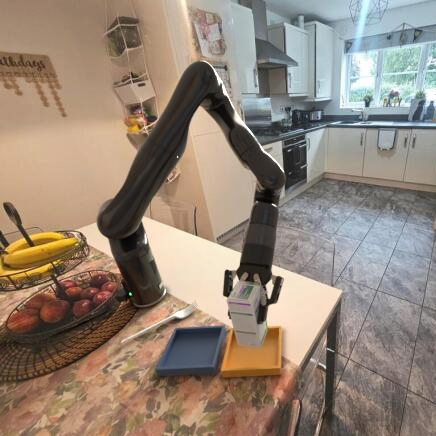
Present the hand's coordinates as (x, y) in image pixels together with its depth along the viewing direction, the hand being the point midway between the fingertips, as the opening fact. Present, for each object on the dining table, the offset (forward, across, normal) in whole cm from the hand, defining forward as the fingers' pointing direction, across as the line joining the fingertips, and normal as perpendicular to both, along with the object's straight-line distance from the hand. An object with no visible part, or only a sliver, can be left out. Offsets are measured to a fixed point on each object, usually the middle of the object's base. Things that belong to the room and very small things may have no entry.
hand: (245, 321), depth 53 cm
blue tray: (+10, +15, -8) cm, 20 cm away
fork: (+6, +29, -12) cm, 32 cm away
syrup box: (+4, 0, -6) cm, 8 cm away
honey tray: (+8, 0, -10) cm, 13 cm away
